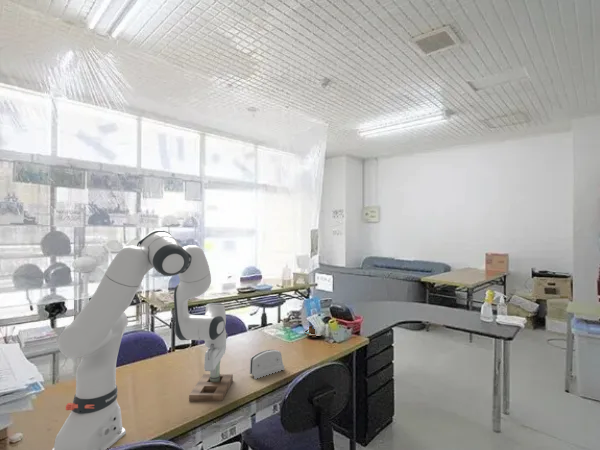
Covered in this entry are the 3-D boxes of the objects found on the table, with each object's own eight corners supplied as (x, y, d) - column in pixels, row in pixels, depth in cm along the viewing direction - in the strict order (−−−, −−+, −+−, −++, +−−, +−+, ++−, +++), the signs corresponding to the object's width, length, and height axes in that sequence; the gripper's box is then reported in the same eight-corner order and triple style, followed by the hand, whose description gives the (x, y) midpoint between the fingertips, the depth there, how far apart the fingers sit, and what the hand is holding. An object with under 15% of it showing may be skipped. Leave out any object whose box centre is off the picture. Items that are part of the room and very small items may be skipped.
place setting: (297, 336, 206) (297, 327, 206) (305, 327, 226) (306, 318, 226) (325, 339, 202) (325, 329, 202) (331, 329, 221) (331, 320, 221)
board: (222, 401, 130) (222, 395, 130) (189, 401, 130) (189, 395, 130) (232, 380, 148) (232, 374, 148) (203, 379, 148) (203, 374, 148)
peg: (218, 385, 141) (218, 363, 141) (208, 384, 141) (208, 363, 141) (220, 380, 145) (221, 359, 145) (211, 380, 145) (211, 359, 145)
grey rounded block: (254, 379, 148) (253, 356, 149) (249, 376, 152) (247, 354, 153) (285, 369, 158) (283, 348, 159) (279, 367, 162) (278, 346, 163)
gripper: (216, 349, 133) (216, 384, 133) (228, 332, 153) (228, 362, 153) (200, 349, 133) (200, 383, 133) (214, 332, 153) (214, 362, 153)
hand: (215, 372), depth 143 cm, fingers closed on peg, 4 cm apart
